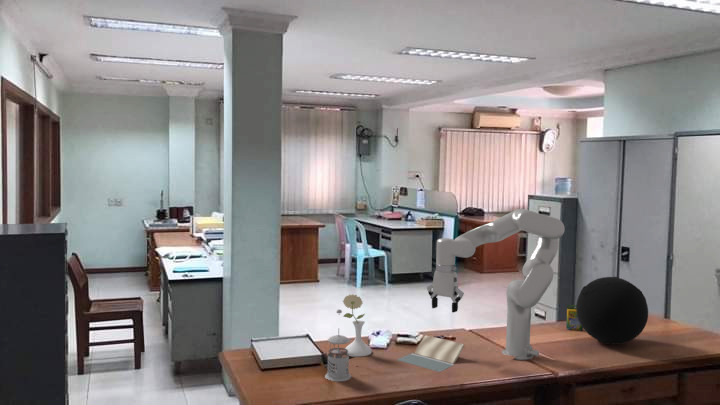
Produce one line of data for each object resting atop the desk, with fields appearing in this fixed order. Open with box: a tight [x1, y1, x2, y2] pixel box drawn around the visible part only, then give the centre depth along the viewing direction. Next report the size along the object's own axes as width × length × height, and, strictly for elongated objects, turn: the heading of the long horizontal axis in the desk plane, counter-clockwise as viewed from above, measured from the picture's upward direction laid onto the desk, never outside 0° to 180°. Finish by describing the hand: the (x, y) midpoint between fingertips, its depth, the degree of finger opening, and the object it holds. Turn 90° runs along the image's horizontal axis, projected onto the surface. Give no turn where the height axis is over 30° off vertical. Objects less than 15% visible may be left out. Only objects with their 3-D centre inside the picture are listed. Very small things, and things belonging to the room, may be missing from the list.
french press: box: [324, 309, 352, 382], centre depth 211 cm, size 10×12×25 cm
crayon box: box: [565, 304, 584, 331], centre depth 280 cm, size 7×3×12 cm, turn 80°
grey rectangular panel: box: [396, 353, 455, 373], centre depth 225 cm, size 20×11×1 cm, turn 51°
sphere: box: [575, 276, 649, 345], centre depth 258 cm, size 30×30×30 cm
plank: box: [413, 334, 465, 364], centre depth 232 cm, size 18×10×1 cm
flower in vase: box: [342, 293, 373, 358], centre depth 235 cm, size 13×11×25 cm
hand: (444, 309), depth 237 cm, fingers open, 9 cm apart
